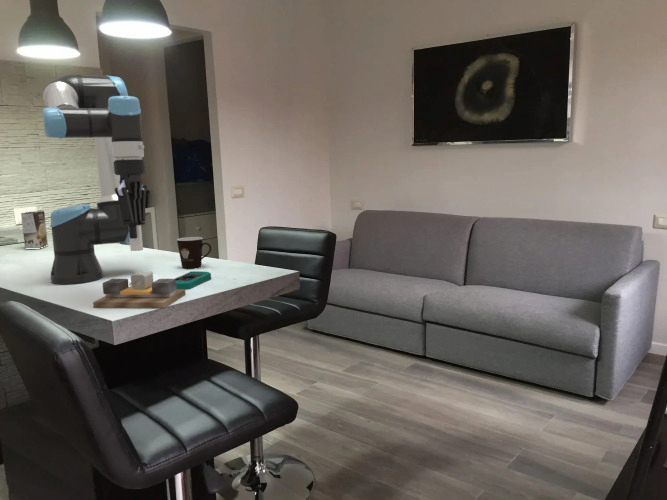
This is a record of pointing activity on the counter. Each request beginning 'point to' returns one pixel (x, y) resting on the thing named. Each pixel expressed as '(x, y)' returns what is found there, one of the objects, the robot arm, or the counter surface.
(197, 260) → the coffee mug
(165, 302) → the board
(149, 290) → the orange flat plate
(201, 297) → the counter surface
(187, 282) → the digital multimeter
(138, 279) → the usb wall charger
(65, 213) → the robot arm
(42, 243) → the coffee box
